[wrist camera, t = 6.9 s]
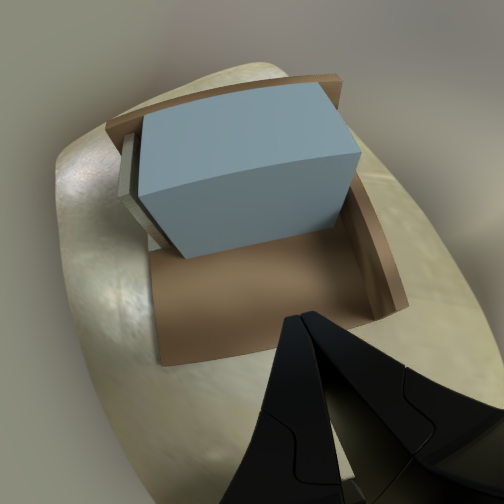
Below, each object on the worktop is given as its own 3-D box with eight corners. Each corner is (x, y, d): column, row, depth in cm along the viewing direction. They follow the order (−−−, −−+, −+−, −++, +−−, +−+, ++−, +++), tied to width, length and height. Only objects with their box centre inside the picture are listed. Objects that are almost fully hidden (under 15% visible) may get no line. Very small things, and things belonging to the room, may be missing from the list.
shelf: (383, 318, 19) (452, 283, 10) (164, 366, 19) (90, 363, 10) (323, 155, 25) (336, 74, 17) (150, 191, 25) (106, 121, 16)
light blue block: (333, 227, 22) (361, 151, 13) (185, 259, 22) (137, 196, 13) (308, 161, 24) (317, 82, 16) (178, 188, 24) (143, 115, 16)
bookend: (171, 247, 22) (129, 193, 15) (149, 252, 22) (100, 202, 15) (168, 193, 24) (134, 132, 17) (148, 198, 24) (110, 140, 17)
